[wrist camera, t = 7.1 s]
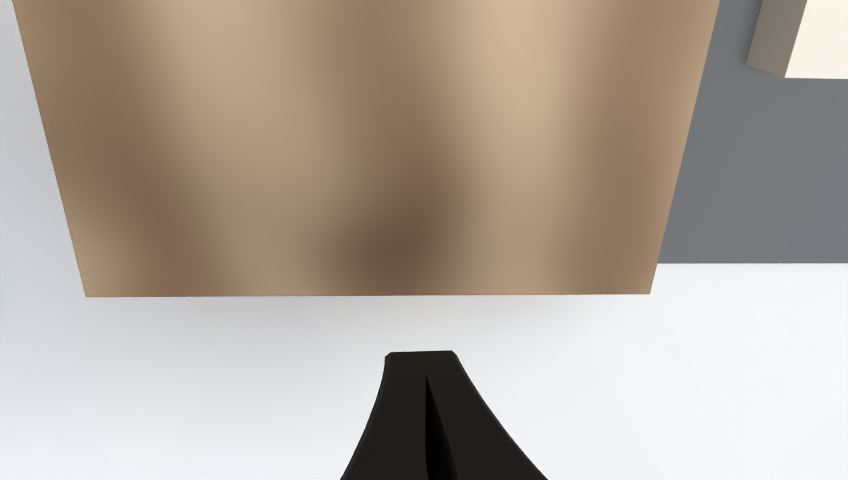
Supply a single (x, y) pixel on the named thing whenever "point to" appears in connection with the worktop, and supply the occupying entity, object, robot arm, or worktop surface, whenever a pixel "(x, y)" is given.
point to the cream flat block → (801, 39)
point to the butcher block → (366, 142)
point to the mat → (760, 161)
